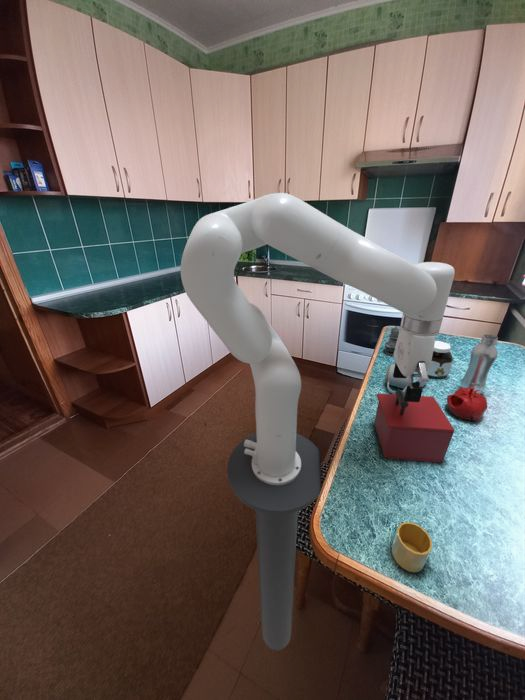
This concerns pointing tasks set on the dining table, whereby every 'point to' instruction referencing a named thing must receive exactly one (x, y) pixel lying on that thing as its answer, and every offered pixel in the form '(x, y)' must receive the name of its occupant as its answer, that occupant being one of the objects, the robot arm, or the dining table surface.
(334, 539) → the dining table surface
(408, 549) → the cup
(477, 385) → the plastic bottle
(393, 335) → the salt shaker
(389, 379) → the ceramic mug
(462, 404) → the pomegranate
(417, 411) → the lid
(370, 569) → the dining table surface
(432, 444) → the red lidded box
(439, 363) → the spread jar
